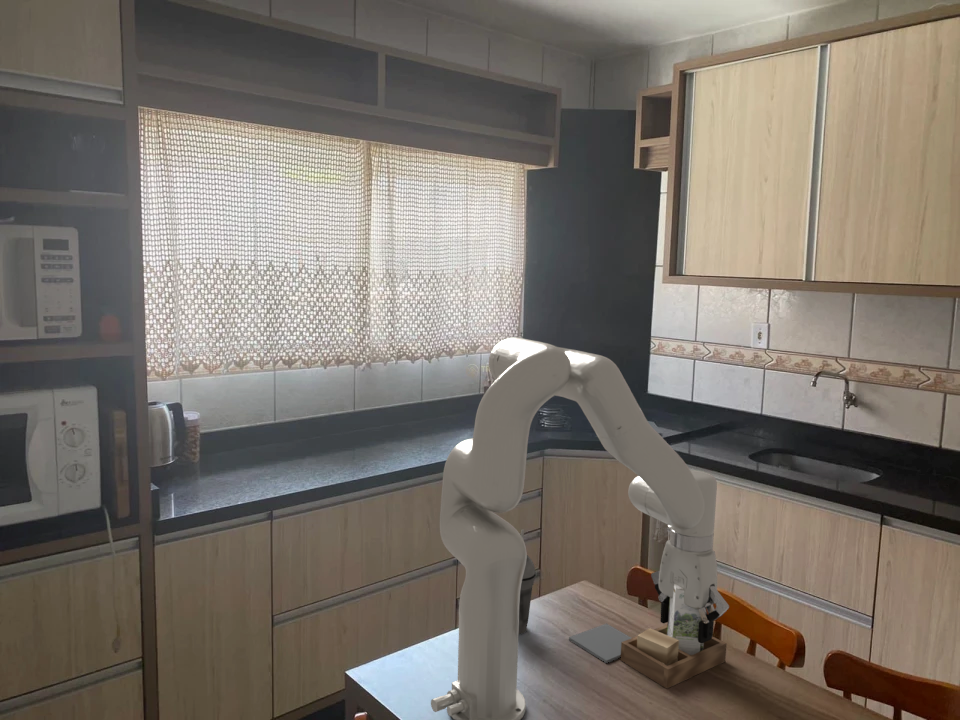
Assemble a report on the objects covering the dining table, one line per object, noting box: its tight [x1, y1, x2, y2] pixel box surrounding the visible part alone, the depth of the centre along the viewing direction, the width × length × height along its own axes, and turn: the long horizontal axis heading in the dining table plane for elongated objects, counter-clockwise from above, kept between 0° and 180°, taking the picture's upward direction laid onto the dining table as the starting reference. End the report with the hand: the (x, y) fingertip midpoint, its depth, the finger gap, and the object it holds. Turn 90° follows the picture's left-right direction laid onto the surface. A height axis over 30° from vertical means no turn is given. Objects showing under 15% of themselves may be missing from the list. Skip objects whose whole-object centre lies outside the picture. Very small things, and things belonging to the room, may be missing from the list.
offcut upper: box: [636, 627, 679, 664], centre depth 132 cm, size 4×6×3 cm, turn 45°
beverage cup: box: [518, 529, 536, 635], centre depth 144 cm, size 7×7×20 cm
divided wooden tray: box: [619, 623, 727, 689], centre depth 135 cm, size 16×11×4 cm
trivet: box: [568, 623, 632, 664], centre depth 141 cm, size 10×10×1 cm
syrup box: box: [666, 583, 707, 655], centre depth 136 cm, size 6×6×14 cm
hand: (685, 630), depth 136 cm, fingers closed on syrup box, 8 cm apart
